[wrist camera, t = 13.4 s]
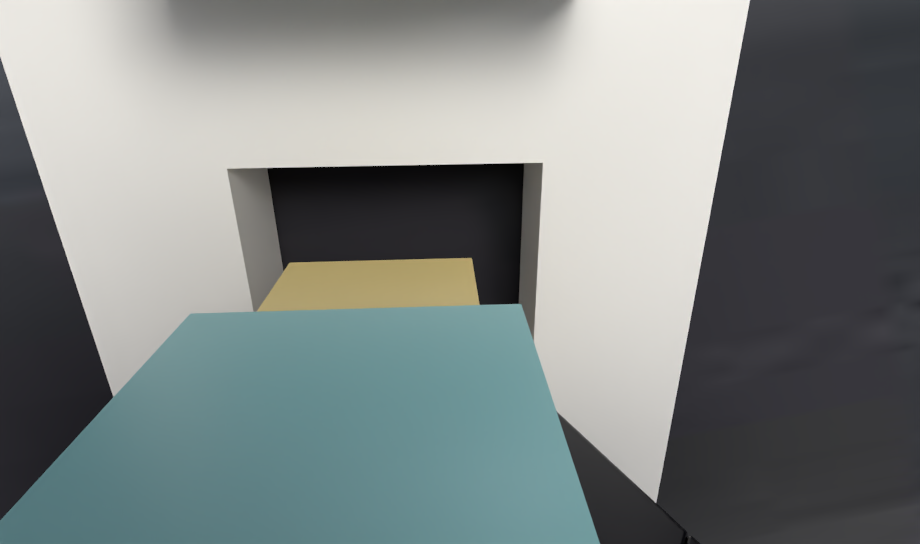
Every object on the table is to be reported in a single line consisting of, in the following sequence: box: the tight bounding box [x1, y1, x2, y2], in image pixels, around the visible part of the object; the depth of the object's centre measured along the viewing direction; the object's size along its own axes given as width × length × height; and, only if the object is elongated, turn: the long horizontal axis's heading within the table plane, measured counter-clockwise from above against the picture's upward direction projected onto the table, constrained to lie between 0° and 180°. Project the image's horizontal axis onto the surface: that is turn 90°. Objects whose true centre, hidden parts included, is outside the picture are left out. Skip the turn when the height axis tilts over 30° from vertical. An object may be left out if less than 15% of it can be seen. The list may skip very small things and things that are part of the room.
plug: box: [0, 258, 600, 544], centre depth 7 cm, size 4×4×9 cm
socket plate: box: [0, 0, 750, 503], centre depth 12 cm, size 18×14×2 cm
